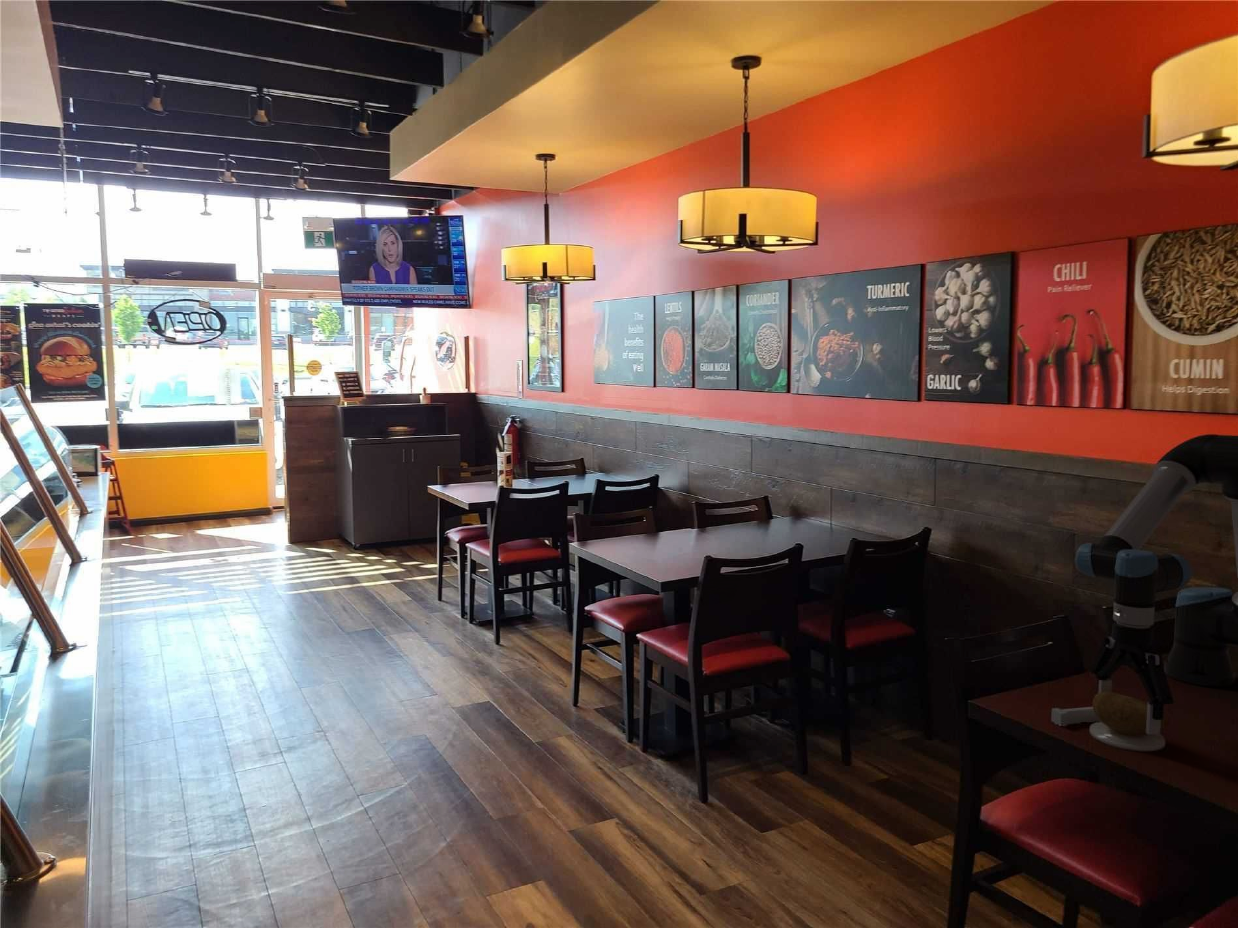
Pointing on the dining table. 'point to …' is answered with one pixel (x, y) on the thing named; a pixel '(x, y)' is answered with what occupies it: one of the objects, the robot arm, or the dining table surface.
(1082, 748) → the dining table surface
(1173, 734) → the dining table surface
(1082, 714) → the rail
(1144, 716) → the potato
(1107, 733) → the plate
